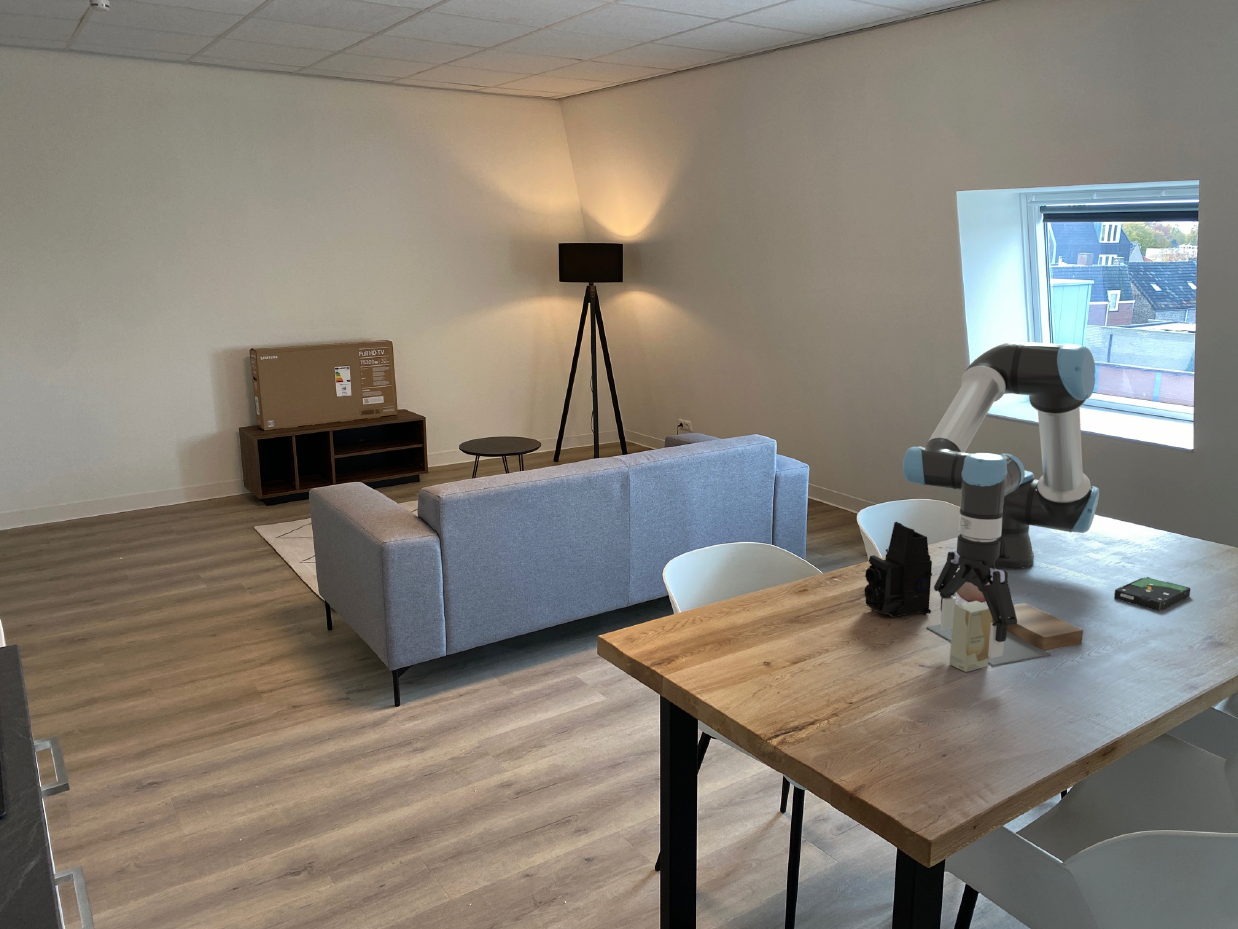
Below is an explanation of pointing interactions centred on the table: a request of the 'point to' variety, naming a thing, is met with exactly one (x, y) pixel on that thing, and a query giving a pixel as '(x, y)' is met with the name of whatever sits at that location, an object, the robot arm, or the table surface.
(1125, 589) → the disk drive
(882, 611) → the camera
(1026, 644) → the rubber mat
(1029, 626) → the walnut ledge
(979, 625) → the skincare box
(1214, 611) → the table surface
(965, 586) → the decorative fruit
